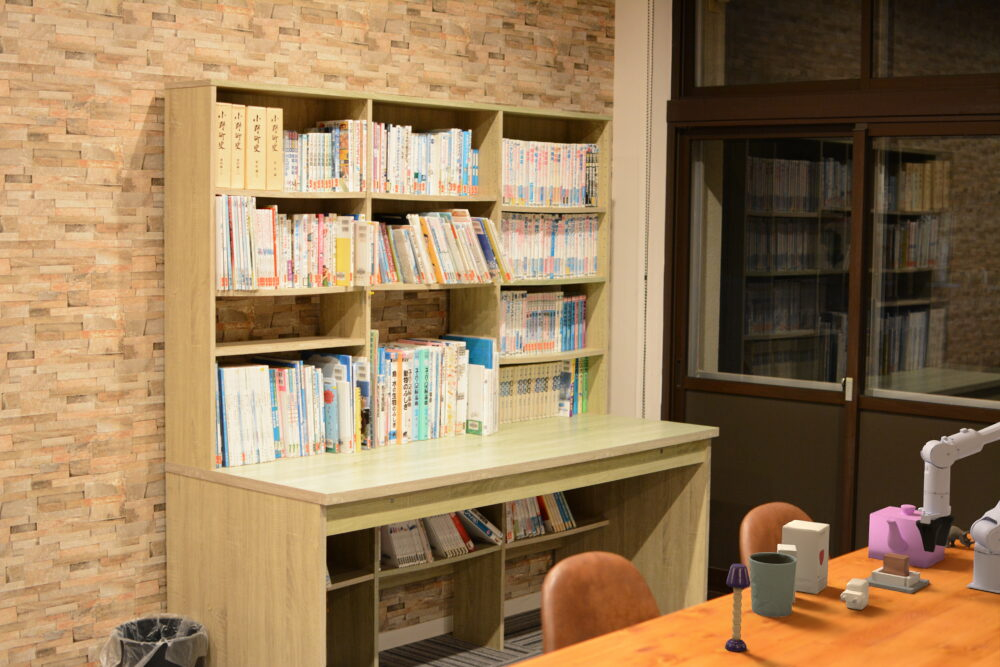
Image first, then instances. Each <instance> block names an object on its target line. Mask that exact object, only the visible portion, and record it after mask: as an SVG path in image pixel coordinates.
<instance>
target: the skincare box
mask: <svg viewBox="0 0 1000 667" xmlns="http://www.w3.org/2000/svg"><path fill="white" fill-rule="evenodd" d="M776 549H777V550H776V553H782V554H787V555H790V556H793V557H795V558H796V559H797V549H796V546H795V545H785V544H782V543H777V548H776ZM794 578H795V580H794V591H793V600H792V604H795V602H796V591H795V586H796V571H795V577H794Z"/></svg>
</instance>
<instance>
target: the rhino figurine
mask: <svg viewBox="0 0 1000 667" xmlns="http://www.w3.org/2000/svg"><path fill="white" fill-rule="evenodd" d="M968 534H970V530H967V531H964V530H962V529H960V527H958V526H955V525H952V526H951V529H950V532H949V535H948V539H947V543H946V545H945V549H950V548H957V545H956V544H955V542H956V541H959V543H960V544H961V545H964V546H965V547H967V548H971V546H972V545H975V541H974V540H973V541H972V538H968Z"/></svg>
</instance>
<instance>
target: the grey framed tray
mask: <svg viewBox="0 0 1000 667" xmlns="http://www.w3.org/2000/svg"><path fill="white" fill-rule="evenodd" d="M870 573H871V574H870V576H868V577H866V578H864V580H867V581H868V582H869V587H875V588H879V589H885V590H891V591H894V592H900V593H906V594H909V595H911V594H913V593H915V592H917V591H919V590H920V589H922V588H924V587H925V586H927V585H929V584H930V579H928V578H927V579H926V578H921V572H920V571H919V572H918V571H914V570H909V576H907V577H902V576H897V575H892V574H886V573H883V565H882V566H881V567H879V568H877V569H875V570H873V571H871V572H870Z"/></svg>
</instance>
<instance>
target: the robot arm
mask: <svg viewBox="0 0 1000 667" xmlns="http://www.w3.org/2000/svg"><path fill="white" fill-rule="evenodd" d="M999 440H1000V421H999V422H996V423H995V424H992V425H990V426H987V427H985V428H983V429H982V428H981V429H980V430H975V429H973V428H965V427H963V428H961V429H959V432H958V433H954V434H951V435H949V436H946V435H944V436H941V439H940V440H935V439H933V440H929V441H928V442H926V443H925V445H924V446H923V447H922V450H920V456H921V459H922V460H923V461H924V472H923V474H924V477H923V478H924V479H923V507H919V508H918V509H917V510H918V511H920V512H922V514H921V520H917V521H916V526H917V528H918V530H919V532H920V535H921V538H922V543H923V547H924V551H926V552H934V550H935V546H936V545H938V546H945V545H946V543H947V539H948V535H949V532H950V529H951V526H953V524H954V523H955V521H956V516H954V515H951V513H952V512H951V511H952V506H951V505H950V494H951V493H950V492H951V491H950V490H951V487H950V486H951V466H952V465H953V464H954V463H955V461H958V460H960V459H963V458H966V457H968V456H969V457H970V456H971V455H975V454H977V453H979V452H981V451H982V450H983V447H984V445H986V444H990V443H992V442H995V441H999ZM969 531H970V532H969V534H970V538H971V540H973V541H975V543H974V546H973V550H974V551H973V569H972V570H973V573H972V582H970V583H968V584H967V585H966V588H970V589H975V590H980V591H986V592H991V593H996V594H1000V500H998V503H997V504H996V506H995V507H994V508H991V509H989V510H988V511H986V512H985V513H984V514H983V515H982V517H981V518H979V519H977V520H976V521H975V522H973V524H972V525H971V527H970V530H969Z"/></svg>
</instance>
